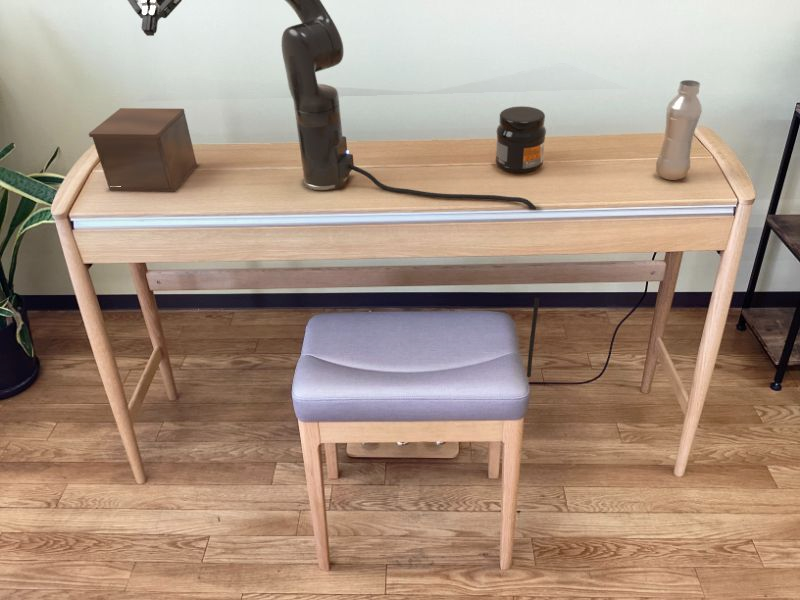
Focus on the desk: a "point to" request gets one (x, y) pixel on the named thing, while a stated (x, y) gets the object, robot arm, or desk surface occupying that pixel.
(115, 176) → the chest
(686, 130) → the plastic bottle
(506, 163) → the supplement container
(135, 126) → the lid
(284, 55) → the robot arm
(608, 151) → the desk surface
